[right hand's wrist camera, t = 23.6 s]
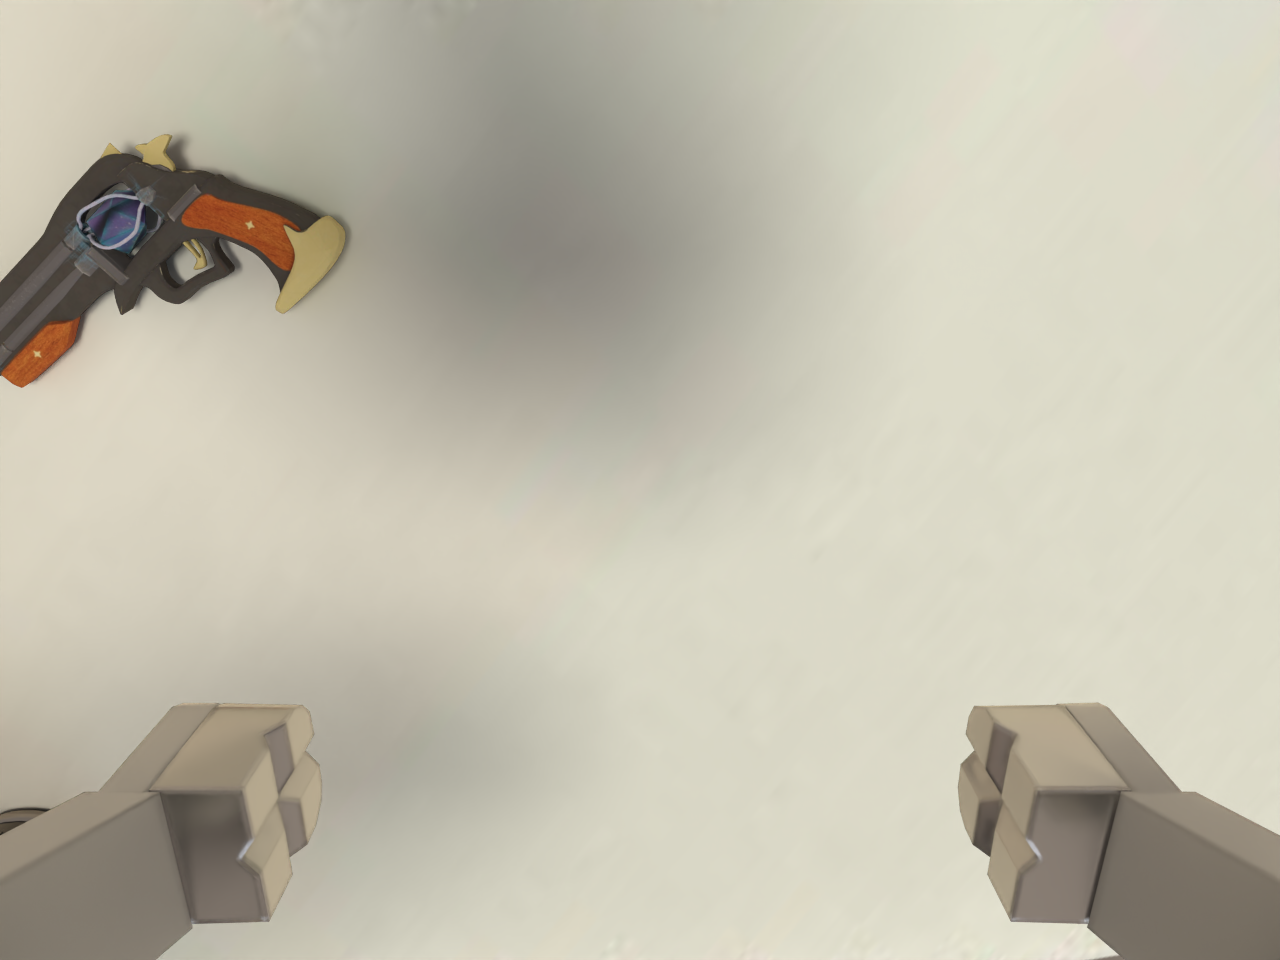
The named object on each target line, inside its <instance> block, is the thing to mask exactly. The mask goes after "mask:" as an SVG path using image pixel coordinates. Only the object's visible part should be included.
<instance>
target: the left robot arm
mask: <svg viewBox="0 0 1280 960" xmlns="http://www.w3.org/2000/svg"><path fill="white" fill-rule="evenodd" d="M43 813H45V811H37V810H19V811H12V812H7V813H4V814H1V815H0V835H2V834H4V833H6V832H8V831H10V830H12V829H14V828H16V827H18V826H20V825H22V824H23V823H25V822H27V821H29V820H31V819H33V818H35V817H37V816H39V815H41V814H43Z"/></svg>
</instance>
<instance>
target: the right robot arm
mask: <svg viewBox="0 0 1280 960" xmlns="http://www.w3.org/2000/svg"><path fill="white" fill-rule="evenodd" d="M313 736H314V730H313V725H312V720H311V715H310V711H309V710H308V709H306V708H305V707H304V706H303V705H282V704H236V703H223V704H219V703H182V704H180V705H177V706H174V707H172V708H171V709H170V710H169V711H168V712H167V713H166V715H165V716H164V717H163V718H162V719H161V720H160V721H159V723H158V724H157V725H156V726H155V727H154V728H153V729H152V731H151V732H150V733H149V734H148V735H147V736H146V738H145V739H144V740H143V741H142V742H141V743H140V744H139V746H138V747H137V748H136V749H135V750H134V751H133V752H132V754H131V755H130V756H129V757H128V758H127V759H126V760H125V762H124V763H123V764H122V765H121V766H120V767H119V768H118V770H117V771H116V772H115V773H114V774H113V775H112V777H111V778H110V779H109V780H108V781H107V782H106V783H105V785H104V786H103V787H102V788H101V789H100V790H99V791H98V792H84V793H82V794H80V795H78V796H76V797H74V798H72V799H70V800H68V801H66V802H64V803H62V804H60V805H58V806H56V807H54V808H53V809H51V810H49V811H47V812H45V813H43V814H41V815H39V816H37V817H35V818H33V819H31V820H29V821H27V822H25V823H23V824H22V825H20V826H18V827H16V828H14V829H12V830H10V831H8V832H6V833H4V834H2V835H0V960H156V959H157V958H158V957H159V956H160V955H162V954H163V953H164V952H165V951H166V950H167V949H169V948H170V947H171V946H172V945H173V944H174V943H176V942H177V941H178V940H179V939H180V938H181V937H183V936H184V935H185V934H186V933H187V932H188V931H190V930H191V929H192V924H203V923H237V922H269V921H270V919H271V917H272V915H273V913H274V911H275V909H276V907H277V905H278V903H279V901H280V899H281V897H282V895H283V893H284V891H285V889H286V887H287V885H288V883H289V881H290V879H291V877H292V875H293V873H292V868H291V862H290V857H291V856H292V855H293V854H295V853H296V852H298V851H299V850H300V849H302V848H303V847H304V846H306V845H307V844H308V842H309V840H310V837H311V835H312V833H313V831H314V829H315V827H316V823H317V819H318V814H319V810H320V805H321V800H322V779H321V773H320V766H319V764H318V763H317V762H316V761H315V760H314V759H313V758H312V757H311V755H310V754H309V753H308V752H307V751H306V748H307V746H308V745H309V743H310V741H311V739H312V737H313ZM966 736H967V737H968V739H969V741H970V743H971V745H972V746H973V748H974V751H973V752H972V753H971V754H970V756H969V757H968V758H967V759H966V760H965V761H964V762H963V763H962V764H961V766H960V774H959V782H958V794H959V805H960V812H961V816H962V819H963V823H964V826H965V829H966V831H967V833H968V835H969V837H970V840H971V842H972V844H973V845H974V846H976V847H977V848H978V849H980V850H981V851H982V852H984V853H985V854H987V855H988V856H989V857H990V862H989V868H988V873H987V875H988V877H989V879H990V881H991V883H992V885H993V887H994V889H995V891H996V893H997V895H998V897H999V899H1000V901H1001V903H1002V905H1003V907H1004V909H1005V911H1006V913H1007V915H1008V917H1009V919H1010V921H1011V922H1042V923H1077V924H1088V926H1087V928H1088V929H1090V930H1091V931H1092V932H1093V933H1094V934H1095V935H1097V936H1098V937H1099V938H1100V939H1101V940H1102V941H1104V942H1105V943H1106V944H1107V945H1108V946H1109V947H1111V948H1112V949H1113V950H1114V951H1115V952H1116V953H1118V954H1119V955H1120V956H1121V957H1122V958H1123V959H1125V960H1280V835H1278V834H1276V833H1274V832H1272V831H1270V830H1268V829H1266V828H1264V827H1262V826H1260V825H1258V824H1256V823H1254V822H1253V821H1251V820H1249V819H1247V818H1245V817H1243V816H1241V815H1239V814H1237V813H1235V812H1233V811H1231V810H1229V809H1227V808H1225V807H1224V806H1222V805H1220V804H1218V803H1216V802H1214V801H1212V800H1210V799H1208V798H1206V797H1204V796H1202V795H1200V794H1198V793H1196V792H1182V791H1181V790H1180V789H1179V788H1178V787H1177V786H1176V785H1175V783H1174V782H1173V781H1172V780H1171V779H1170V778H1169V777H1168V775H1167V774H1166V773H1165V772H1164V771H1163V770H1162V769H1161V767H1160V766H1159V765H1158V764H1157V763H1156V762H1155V760H1154V759H1153V758H1152V757H1151V756H1150V755H1149V754H1148V752H1147V751H1146V750H1145V749H1144V748H1143V747H1142V746H1141V744H1140V743H1139V742H1138V741H1137V740H1136V739H1135V738H1134V736H1133V735H1132V734H1131V733H1130V732H1129V731H1128V730H1127V728H1126V727H1125V726H1124V725H1123V724H1122V723H1121V722H1120V720H1119V719H1118V718H1117V717H1116V716H1115V715H1114V713H1113V712H1112V711H1111V710H1110V709H1109V708H1108V707H1106V706H1104V705H1102V704H1100V703H1068V704H1056V705H1009V706H974V707H973V709H972V711H971V713H970V715H969V718H968V724H967V729H966Z"/></svg>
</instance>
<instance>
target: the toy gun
mask: <svg viewBox="0 0 1280 960" xmlns="http://www.w3.org/2000/svg"><path fill="white" fill-rule="evenodd" d="M171 138H172V135H168V134H165V135H161V136H159V137H157V138H155V139H153V140H152V141H150V142H149V143H148V144H140V145H137V146H136V147H135V148H136V149H137V150H138V151H139V152H141V153H142V154H143V155H144V156H143V159H141V158H139V157H137V156H134V155H129V154H124V153H120V152H119V151H118V150H117V149H116V148H115V147H114V146H113V145H112V144H111V143H109V145H108V146H107V148H106V150H105V151H104V153H103V155H102V156H101V158H100V159H99V160H98V161H97V162H96V163H94V164H93V165H92V166H91V167H90V169H89V170H88V171H87V172H86V173H85V174H84V175H83V176H82V177H81V178H80V180H79V181H78V182H77V183H76V184H75V185H74V186H73V187H72V188H71V189H70V191H69V192H68V193H67V194H66V196H65V197H64V198H63V199H62V201H61V202H60V204H59V205H58V207H57V209H56V210H55V212H54V214H53V216H52V218H51V220H50V222H49V224H48V226H47V228H46V230H45V232H44V234H43V236H42V237H41V238H40V239H39V240H38V242H37V243H36V244H35V245H34V246H33V247H32V248H31V249H30V250H29V251H28V253H27V254H26V255H25V256H24V257H23V258H22V259H21V260H20V261H19V262H18V263H17V265H16V266H15V267H14V268H13V269H12V270H11V271H10V272H9V273H8V274H7V276H6V277H5V278H4V279H3V280H2V281H1V282H0V376H1V375H2V376H3V377H5V378H6V379H7V380H8V381H10V382H11V383H12V384H14V385H16V386H19V387H21V388H22V387H24V386H26V385H27V384H29V383H31V382H32V381H34V380H35V379H36V378H37V377H38V376H39V375H41V374H42V373H43V372H44V371H45V370H46V369H47V368H48V367H50V366H51V365H52V364H53V363H54V362H55V361H56V360H57V359H58V358H59V357H60V356H61V355H62V354H63V353H65V352H66V351H67V350H68V349H69V348H70V347H71V346H72V345H73V343H74V341H75V337H76V333H77V329H78V325H79V321H80V317H81V316H80V315H81V314H82V313H83V312H84V311H85V310H86V309H87V308H88V307H89V306H90V305H91V304H92V303H93V302H94V301H95V300H96V299H97V298H98V297H100V296H101V295H102V294H103V293H105V292H107V291H109V290H112V289H114V294H115V299H116V303H117V306H118V308H119V311H120V314H121V315H123V314H125V313H126V312H128V311H129V310H131V309H133V308H134V306H135V303H136V300H137V297H138V295H139V293H140V291H141V289H142V288H143V286H145V287H148V288H150V289H151V290H152V291H153V292H154V293H155V294H156V295H157V296H158V297H160V298H161V299H163V300H165V301H167V302H170V303H173V304H181V303H183V302H185V301H186V300H188V299H189V298H190V297H191V296H193V295H194V294H195V293H196V292H197V291H198V290H199V289H200V288H201V287H203V286H205V285H207V284H209V283H211V282H213V281H216V280H218V279H221V278H223V277H226V276H228V275H229V274H231V273H232V272H233V271H234V270H235V267H234V265H233V264H232V262H231V261H230V260H229V259H228V257H227V256H226V255H225V253H224V252H223V250H222V248H221V246H220V244H219V238H223V239H225V240H228V241H230V242H233V243H235V244H238V245H240V246H242V247H244V248H246V249H248V250H250V251H251V252H253V253H255V254H256V255H257V256H258V257H259V258H260V259H261V260H262V261H263V262H264V263H265V264H266V265H267V266H268V267H269V269H270V270H271V272H272V273H273V275H274V276H275V278H276V279H277V281H278V283H279V287H280V295H279V297H278V299H277V302H276V310H277V311H278V312H280V313H282V314H283V313H285V312H287V311H288V310H289V309H290V308H291V307H293V306H294V305H295V304H296V303H297V302H298V301H299V300H300V299H301V298H302V297H304V296H305V295H306V294H307V293H308V292H309V291H310V290H311V289H312V288H313V287H314V286H315V285H316V284H317V283H318V282H319V281H320V280H321V279H322V278H323V277H324V276H325V275H326V274H327V272H328V271H329V270H330V269H331V268H332V266H333V265H334V263H335V262H336V260H337V259H338V257H339V256H340V254H341V252H342V249H343V246H344V243H345V231H344V229H343V227H342V226H341V225H340V224H339V223H338V222H337V221H336V220H335V219H334V218H332V217H331V216H324V217H322V218H320V217H319V216H317V215H316V214H314V213H312V212H310V211H308V210H306V209H304V208H302V207H300V206H298V205H296V204H294V203H292V202H289V201H287V200H284V199H282V198H279V197H276V196H273V195H270V194H267V193H263V192H259V191H256V190H252V189H249V188H245V187H242V186H240V185H237V184H235V183H232V182H231V181H230V180H228V179H227V178H226V177H224V176H223V175H216V176H215V175H213V174H211V173H209V172H206V171H201V170H181V169H176V167H175V164H174V163H173V161H172V160H171V159H170V158H169V156H168V155H167V154H166V149H167V147H168V145H169V143H170V141H171ZM120 182H123V183H125V184H126V185H127V186H128V187H129V188H128V189H126V190H115V191H114V192H113V193H112V194H110V195H106V196H104V197H102V195H103V194H104V193H105V192H106V191H108V190H109V189H110V188H112V187H113V186H114V185H116V184H118V183H120ZM104 200H106V201H105V202H104V203H103V204H102V205H101V206H100V207H99V208H98V209H97V210H96V211H95V213H94V214H93V215H92V216H91V217H90V218H89V219H88V220H87V221H86V222H87V223H88V224H87V223H85V219H86V215H87V213H88V212H89V210H90V209H91V208H92V207H93V206H95V205H97V204H99V203H101V202H102V201H104ZM146 206H149V207H150V208H151V209H152V210H153V211H154V212H155V213H156V214H158V222H157V225H156V227H155V228H153V229H146ZM162 219H163V220H164V221H165V223H164V224H163V225H162V226H161V227H160V225H161V220H162ZM159 227H160V228H159ZM155 231H157V232H156V233H155V234H154V235H153V236H152V237H151V238H150V239H149V240H148V241H147V242H146V243H145V244H144V245H143V246H142V247H141V249H140V250H139V251H138V252H137V254H136V255H135V256H134V258H133V259H131V258H130V257H129V256H128V255H127V254H130V253H131V251H132V250H133V249H134V248H135V247H136V246H137V244H138V243H139V242H140V241H141V240H142V239H143V237H144V236H145V235H146V234H147V233H150V232H155ZM95 236H96V237H95ZM96 238H97V239H98V241H99V242H98V241H97V240H95V239H96ZM196 238H197V239H198V240H199V241H200V242H201V243H202V244H203V245H204V246H205V247H206V248H207V249H208V251H209V252H210V254H211V256H212V258H213V261H214V264H215V266H214V267H213V268H210V269H208V270H206V271H204V272H202V273H200V274H198V275H196V276H194V277H193V278H191V279H190V280H188V281H187V282H185V283H184V284H183V285H179V284H178V283H176V282H175V281H174V280H173V279H172V278H171V276H170V274H169V271H168V268H167V265H166V260H167V259H168V258H169V257H170V256H171V255H172V254H173V253H174V252H175V251H176V250H177V249H178V248H179V247H180V246H181V245H182V244H184V245H185V246H186V247H187V248H188V249H189V250H190V251H191V252H192V254H193V255H194V256H195V257H196V259H197V263H196V264H195V266H194V269H195V270H198V269H202V268H204V267H206V266H207V260H206V257H205V253H204V251H203V248H202V247H201V245H200V244H199V242H198V241H197V240H196ZM188 240H191V241H192V242H193V243H194V245H195V246H196V247H197V248H198V250H199V252H200V254H201V255H200V254H199V253H198V252H197V250H196V249H195V248H194V247H193V246H192V245H191V244H190V243H189V241H188ZM125 253H127V254H125Z"/></svg>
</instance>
